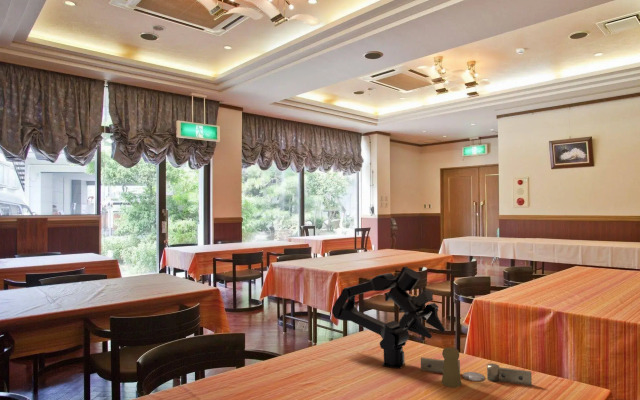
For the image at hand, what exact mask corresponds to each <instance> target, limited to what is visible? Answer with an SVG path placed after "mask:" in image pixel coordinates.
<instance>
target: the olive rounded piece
mask: <svg viewBox="0 0 640 400" xmlns="http://www.w3.org/2000/svg"><path fill="white" fill-rule="evenodd" d="M441 353H442V357H443V360H444V366H443V373H442V376H441V379H442V380H441V384H442V386H445V387H448V388H453V389H454V388H455V389H456V388H460V387H462V385H463V383H462V378H461V370H460V371H459V365H458V360H460V359H459V358H460V352H459V350H458V349H457V348H456V347H444V348H443V349H442V351H441Z"/></svg>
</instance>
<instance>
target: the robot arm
mask: <svg viewBox="0 0 640 400" xmlns="http://www.w3.org/2000/svg"><path fill="white" fill-rule="evenodd" d="M420 279H421V276H420V274H419V273H418V272H417V271H415V270H414V269H412V268H409V267H408V266H403V267H402V268H401V270H400V271H399V274H398V275H394V274H393V273H391V272H388V273H382V274H378V275H376V276H374V277H373V278H371V279H370V280H369V281H366V282H362V283H359V284H356V285H355V284H354V285H353V286H347V287H344V288H342V290H341V293H340V295H339V296H338V298H337V299H336V300H335V302H334V303H333V306H332V311H331V313H332V315H333V318H334V319H336V320H339V321H347V322H352V323H354V324H356V325H358V326H360V327H362V328H365V329H367V330H369V331H371V332H372V333H375V334H377V335H379V336H380V337H381V340H380V342H379V346H380V349H382V350H383V363H382V364H381V365H382V366H383V367H386V368H394V369H401V368H402V367H403V365H404V364H405V363H406V362H405V360H406V359H405V351H403V349H404V348H403V347H404V346H406V344H407V342H408V340H409V338H410V334H409V332H411V333H415V334H417V335H420V336H422V337H425V338H428V339H432V337H433V336H432V334H431V333H430V331H429V330H428V329H427V328H426V326H425V325H424V324H423V323H422V322H421V319H422V320H423V321H425V323H426V324H428V325H430V326H431V327H433V328H434V329H436V330H438V331H440V332H442V333H444V332H446V329H445V327H444V325H443V323H442V322H441V320H440V318H439V315H438V312H439V306H438V305H437V303H435V302H431V301H433V300H434V293H433V292H431V291H430V290H428V289H425V290H424V291H422V292H421V293H420V294H418V295H417V296H416V295H411V294H410V293H409V292H411V291H413V289H414V288H415V286H416V285H417V283H418V282H419V280H420ZM387 290H389V291H388V292H386V293H384V301H385V302H388V301H392V302H393V303H395V305H396V306H398V307H399V309H398V311H399V312H404V313H403V315H402V316H401V318H400V319H399V321H396V320H392V321H390V322H383V321H382V320H379V319H377V318H375V317H373V316H370V315H368V314H366V313H365V312H364V313H363V312H362V311H360V310H358V309H357V308H356V306H355V304H356V296H358V295H362V294H366V293H370V292H383V291H387ZM428 302H431V303H428ZM427 303H428V304H427Z"/></svg>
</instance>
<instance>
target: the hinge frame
mask: <svg viewBox="0 0 640 400" xmlns="http://www.w3.org/2000/svg"><path fill="white" fill-rule="evenodd" d="M458 365H459V371H460V372H461V361H460V359H458ZM443 366H444V359H436V358H429V357H420V371H424V372H431V373H439V374H443ZM486 372H487V373H486V376H487V377H485V375H483V374H482V373H479V372H475V371H467V372H463V374H462V377H463V378H464V380H468V381H471V382H481V381H484V380H485V378H487V381H489V382H492V383H499V382H502V383H509V384H517V385H523V386H531V387H532V385H533V383H532V381H533V379H532V371H530V370H522V369H518V368H517V369H514V368H508V367H500V366H499V364H496V363H487V364H486Z"/></svg>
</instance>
